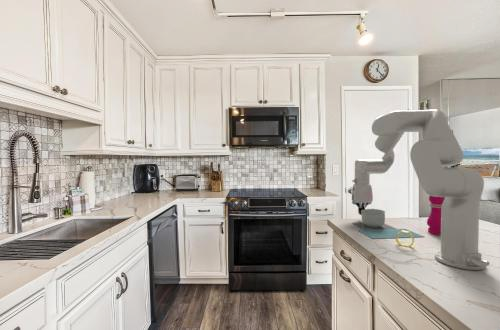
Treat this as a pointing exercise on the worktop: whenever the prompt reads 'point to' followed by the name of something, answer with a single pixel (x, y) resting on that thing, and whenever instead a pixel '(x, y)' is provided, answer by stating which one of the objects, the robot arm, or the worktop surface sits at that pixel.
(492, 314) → the worktop surface
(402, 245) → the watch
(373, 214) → the teacup
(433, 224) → the pepper mill
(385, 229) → the t mat
